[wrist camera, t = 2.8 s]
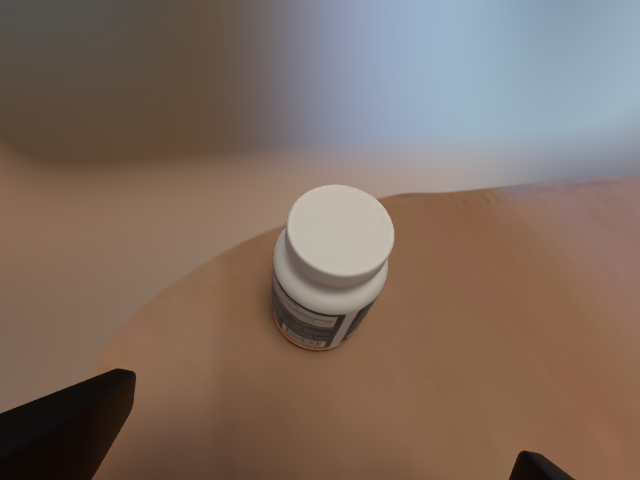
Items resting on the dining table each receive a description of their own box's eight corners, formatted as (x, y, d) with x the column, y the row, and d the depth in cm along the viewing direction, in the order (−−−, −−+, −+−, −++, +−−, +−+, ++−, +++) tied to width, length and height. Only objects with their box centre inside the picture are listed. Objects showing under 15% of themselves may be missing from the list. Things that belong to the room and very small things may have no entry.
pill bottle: (331, 258, 26) (361, 159, 18) (375, 328, 24) (434, 253, 16) (257, 290, 24) (252, 197, 16) (297, 371, 22) (316, 311, 14)
